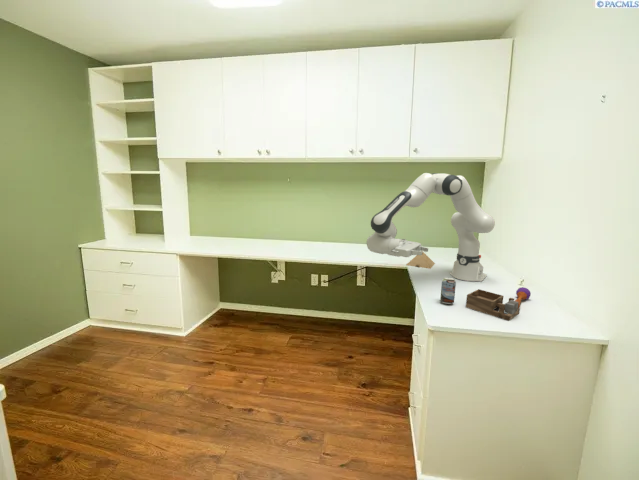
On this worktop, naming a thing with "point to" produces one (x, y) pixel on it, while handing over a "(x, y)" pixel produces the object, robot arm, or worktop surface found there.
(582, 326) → the worktop surface
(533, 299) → the worktop surface
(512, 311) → the tray
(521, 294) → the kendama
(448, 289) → the beverage can
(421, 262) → the model pyramid
